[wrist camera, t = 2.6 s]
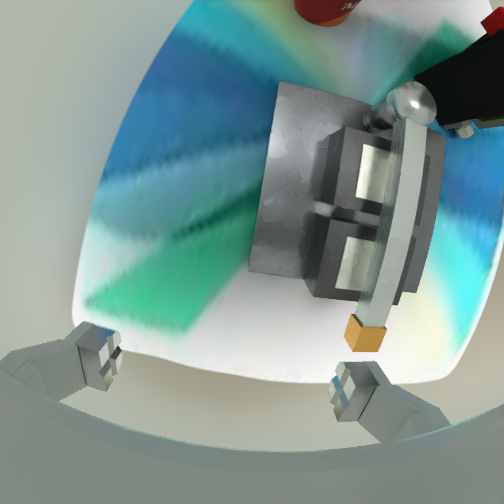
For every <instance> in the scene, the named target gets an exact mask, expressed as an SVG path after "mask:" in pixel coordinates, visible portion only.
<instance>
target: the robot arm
mask: <svg viewBox="0 0 504 504" xmlns="http://www.w3.org/2000/svg"><path fill="white" fill-rule="evenodd" d="M120 342H121V337H120V333H119V331H117V330H113V329H110V328H106V327H103V326H100V325H97V324H93V323H90V322H86V321H83V322H82V323H81V324H80V325H78V326H77V327H76V328H75V329H74V330H73V331H72V332H71V333H70V334H69V335H68V336H67V337H66V338H65V339H64V340H61V339H59V340H55V341H51V342H47V343H43V344H39V345H35V346H31V347H27V348H23V349H19V350H14V351H11V352H10V353H9V354H7V355H6V356H5V357H4V358H3V359H2V360H1V361H0V504H504V404H503V405H500V406H498V407H496V408H494V409H492V410H490V411H487V412H485V413H483V414H480V415H478V416H475V417H473V418H470V419H468V420H465V421H462V422H459V423H456V424H454V425H451V424H450V423H449V421H448V420H447V418H446V417H445V416H444V414H443V413H442V412H441V410H440V409H439V408H437V407H435V406H434V405H432V404H430V403H428V402H426V401H424V400H422V399H420V398H418V397H417V396H414V395H413V394H411V393H409V392H407V391H406V390H404V389H402V388H400V387H398V386H396V385H392V384H391V383H390V381H389V380H388V378H387V377H386V375H385V374H384V372H383V371H382V369H381V368H380V367H379V365H378V364H377V362H375V361H365V362H339V364H338V365H337V367H336V370H335V371H336V374H337V375H336V376H335V377H334V378H333V379H332V380H331V382H330V385H329V391H328V394H329V399H330V402H331V403H332V404H334V405H335V408H334V410H333V411H334V413H335V416H336V419H337V422H350V421H358V423H359V424H360V425H362V426H363V427H364V428H365V429H366V430H367V431H368V432H370V433H371V434H372V435H373V436H374V437H375V438H376V439H378V440H379V441H380V442H381V443H378V444H372V445H366V446H358V447H350V448H341V449H329V450H313V451H312V450H311V451H266V450H265V451H264V450H247V449H235V448H225V447H217V446H209V445H203V444H197V443H191V442H185V441H180V440H175V439H170V438H166V437H161V436H157V435H153V434H149V433H145V432H141V431H138V430H134V429H131V428H127V427H124V426H121V425H118V424H115V423H111V422H109V421H106V420H103V419H100V418H97V417H95V416H92V415H89V414H87V413H84V412H82V411H79V410H77V409H75V408H72V407H70V406H68V405H65V404H63V403H61V402H59V401H60V400H62V399H64V398H66V397H68V396H69V395H71V394H73V393H75V392H77V391H79V390H81V389H82V388H85V387H86V385H87V386H90V387H93V388H96V389H99V390H102V391H107V390H108V388H109V386H110V385H111V383H112V382H113V379H112V376H113V375H115V374H117V373H118V371H119V370H120V367H121V364H122V350H121V349H120V347H119V346H118V345H119V343H120Z"/></svg>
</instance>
